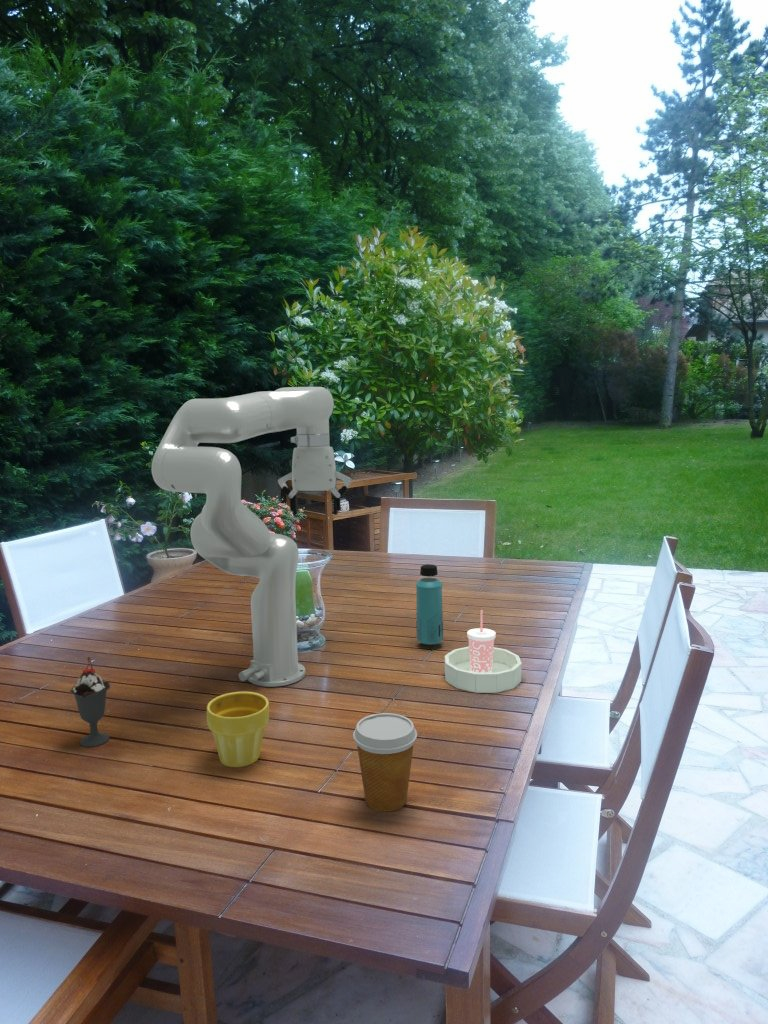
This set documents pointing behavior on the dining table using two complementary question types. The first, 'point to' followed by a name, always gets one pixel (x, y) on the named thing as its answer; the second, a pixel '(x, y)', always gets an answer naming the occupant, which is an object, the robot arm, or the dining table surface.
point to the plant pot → (238, 726)
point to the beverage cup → (481, 648)
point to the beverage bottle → (429, 607)
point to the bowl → (499, 680)
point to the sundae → (91, 704)
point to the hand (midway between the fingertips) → (315, 513)
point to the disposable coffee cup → (385, 759)
